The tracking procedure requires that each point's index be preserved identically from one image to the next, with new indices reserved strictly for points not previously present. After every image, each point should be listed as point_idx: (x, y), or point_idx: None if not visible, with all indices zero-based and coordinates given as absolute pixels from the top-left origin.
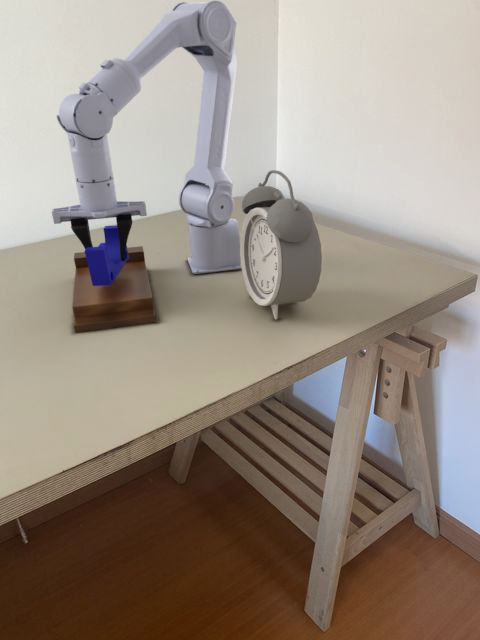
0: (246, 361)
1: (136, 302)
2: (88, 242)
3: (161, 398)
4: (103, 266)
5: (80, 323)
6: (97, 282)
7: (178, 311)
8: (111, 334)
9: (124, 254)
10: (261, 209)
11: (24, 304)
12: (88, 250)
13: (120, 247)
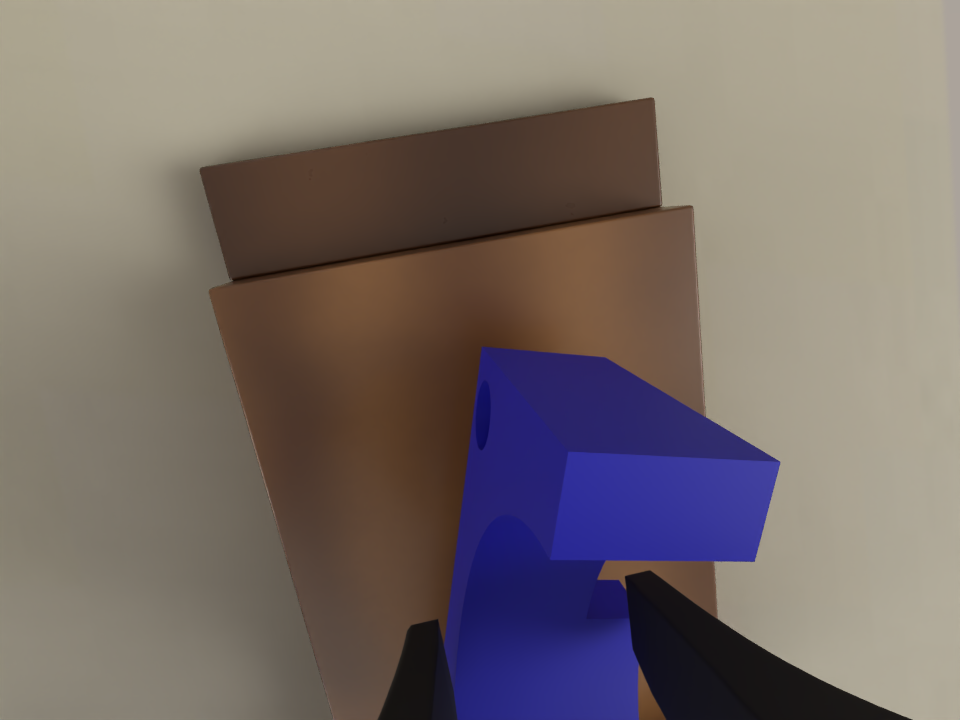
0: None
1: (318, 268)
2: (751, 690)
3: None
4: (547, 389)
5: (622, 119)
6: (578, 361)
7: (104, 300)
8: (446, 54)
9: (404, 657)
10: None
11: (891, 445)
12: (738, 458)
13: (430, 702)
